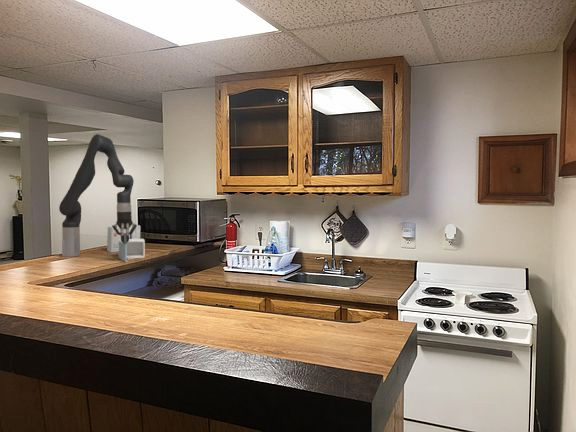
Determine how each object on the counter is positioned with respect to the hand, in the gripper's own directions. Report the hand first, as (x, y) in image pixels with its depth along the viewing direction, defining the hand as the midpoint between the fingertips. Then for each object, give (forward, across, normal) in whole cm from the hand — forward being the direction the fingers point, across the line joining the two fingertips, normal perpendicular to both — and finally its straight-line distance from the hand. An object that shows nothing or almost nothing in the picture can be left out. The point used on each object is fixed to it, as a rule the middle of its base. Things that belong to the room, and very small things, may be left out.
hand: (124, 242), depth 245 cm
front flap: (+11, 0, -5) cm, 12 cm away
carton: (+11, -7, -17) cm, 21 cm away
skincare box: (+11, -8, -44) cm, 46 cm away
